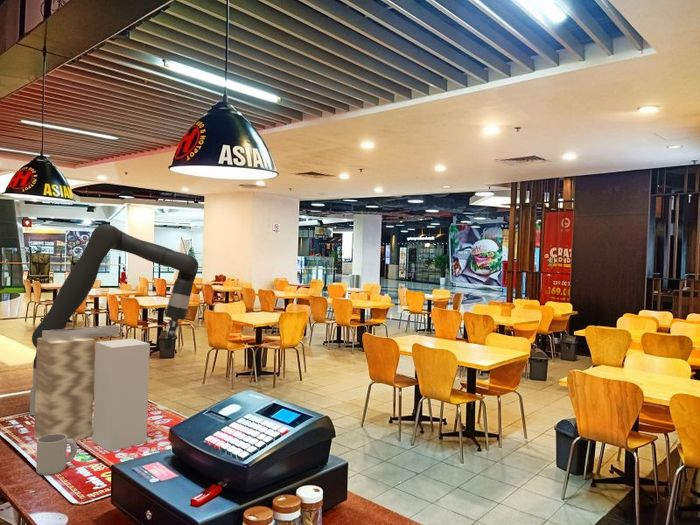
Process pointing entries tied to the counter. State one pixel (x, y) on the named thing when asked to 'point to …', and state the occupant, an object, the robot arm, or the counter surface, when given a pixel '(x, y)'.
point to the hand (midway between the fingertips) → (167, 347)
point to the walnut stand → (64, 388)
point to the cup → (53, 453)
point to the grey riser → (121, 393)
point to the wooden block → (79, 333)
